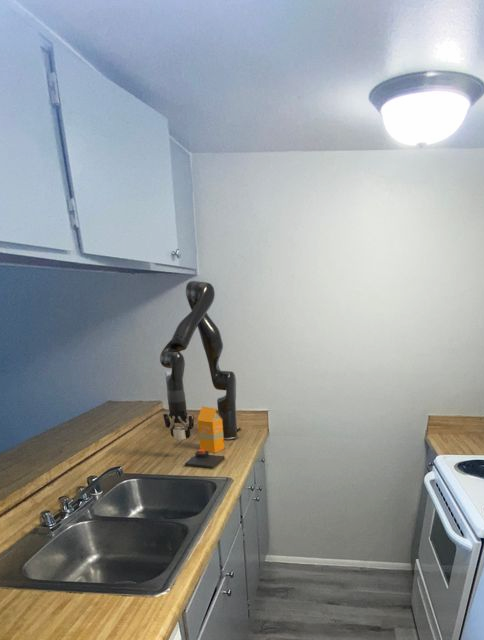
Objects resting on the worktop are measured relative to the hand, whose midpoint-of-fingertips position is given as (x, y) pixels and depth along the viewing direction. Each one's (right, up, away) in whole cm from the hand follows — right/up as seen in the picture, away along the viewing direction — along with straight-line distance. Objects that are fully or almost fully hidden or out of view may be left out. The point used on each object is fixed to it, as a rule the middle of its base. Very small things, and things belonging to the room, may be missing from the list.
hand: (180, 437), depth 213 cm
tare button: (+9, -7, +1) cm, 12 cm away
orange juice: (+12, -3, +15) cm, 19 cm away
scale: (+12, -12, -2) cm, 17 cm away
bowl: (0, -1, 0) cm, 1 cm away
